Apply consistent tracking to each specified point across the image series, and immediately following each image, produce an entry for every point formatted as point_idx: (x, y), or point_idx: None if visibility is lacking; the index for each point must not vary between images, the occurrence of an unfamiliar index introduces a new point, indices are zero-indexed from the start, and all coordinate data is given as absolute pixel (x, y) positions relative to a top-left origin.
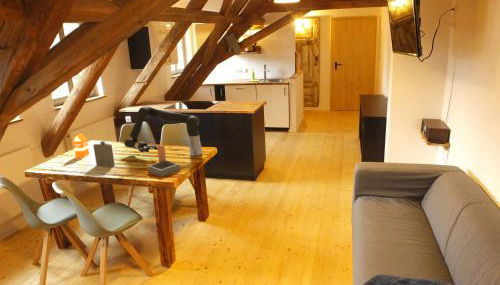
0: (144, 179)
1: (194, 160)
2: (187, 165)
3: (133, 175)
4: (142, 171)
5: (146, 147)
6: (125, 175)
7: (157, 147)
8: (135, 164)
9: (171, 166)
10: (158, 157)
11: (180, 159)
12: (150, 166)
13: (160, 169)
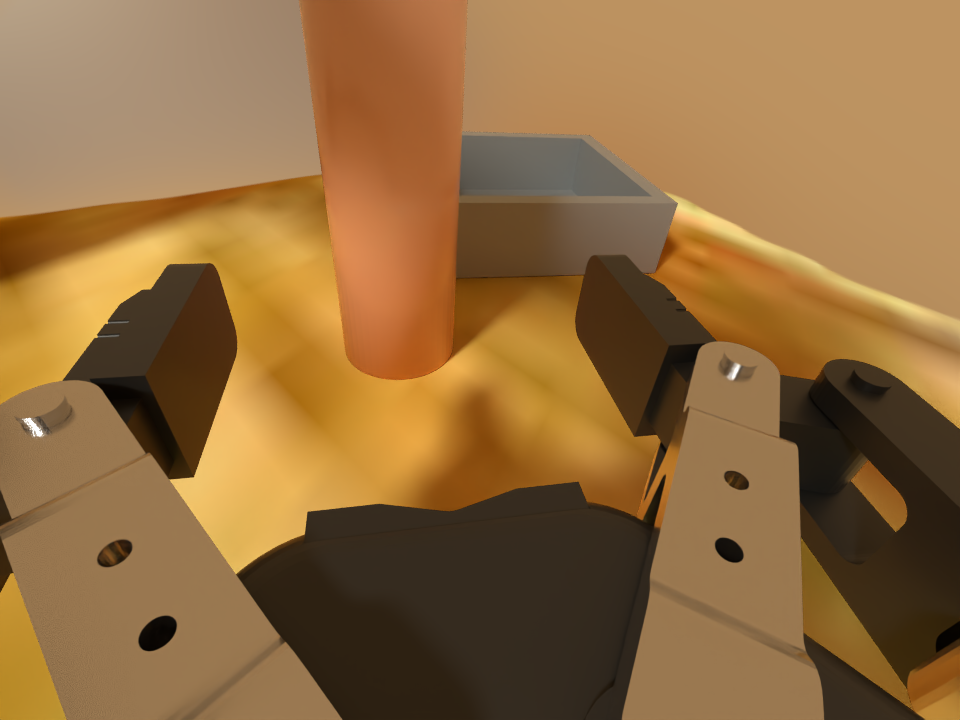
0: (709, 217)
1: (93, 229)
2: (275, 204)
3: (821, 298)
4: (719, 317)
5: (585, 535)
6: (928, 339)
7: (466, 21)
8: (886, 675)
9: (484, 133)
10: (452, 254)
11: (101, 322)
12: (651, 189)
13: (586, 140)
